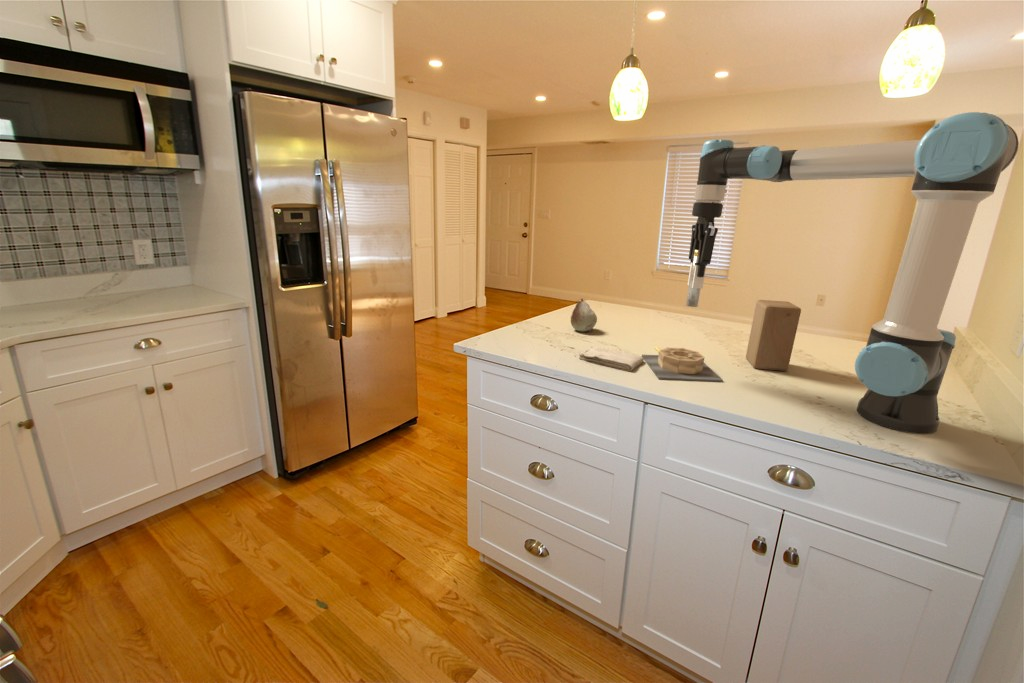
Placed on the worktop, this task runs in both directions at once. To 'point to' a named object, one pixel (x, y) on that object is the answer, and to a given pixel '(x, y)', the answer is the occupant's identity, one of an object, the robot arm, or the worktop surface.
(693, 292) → the brass-banded steel rod
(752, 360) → the wooden block
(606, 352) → the washcloth
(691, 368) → the wooden ring socket base
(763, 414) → the worktop surface
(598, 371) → the worktop surface
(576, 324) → the fruit
